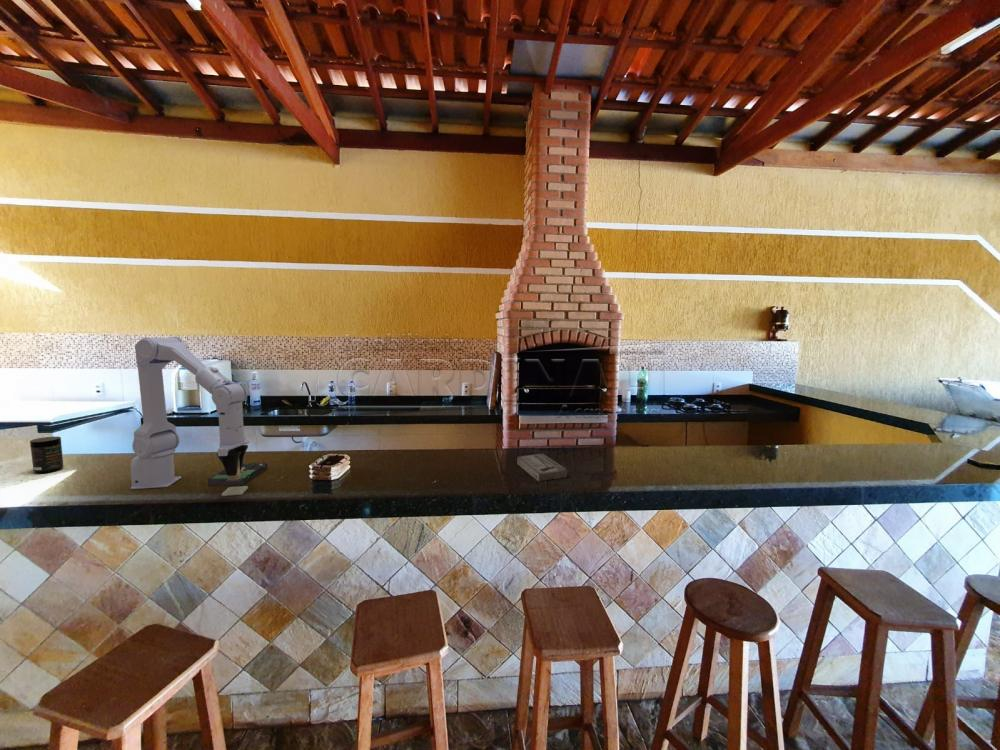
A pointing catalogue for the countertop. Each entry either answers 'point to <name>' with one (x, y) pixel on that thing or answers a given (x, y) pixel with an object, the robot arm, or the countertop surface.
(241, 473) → the disk drive
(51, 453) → the supplement container
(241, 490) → the pad
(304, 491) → the countertop surface
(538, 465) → the box
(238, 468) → the dowel
